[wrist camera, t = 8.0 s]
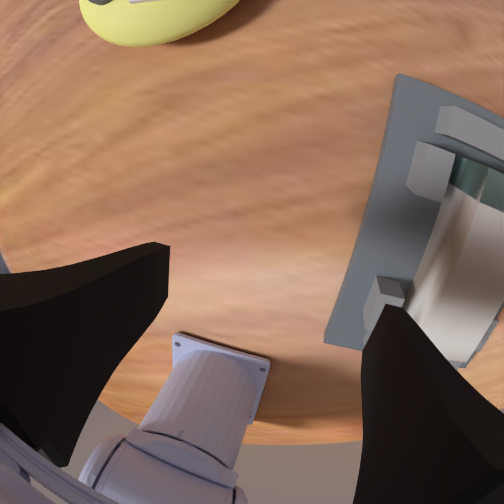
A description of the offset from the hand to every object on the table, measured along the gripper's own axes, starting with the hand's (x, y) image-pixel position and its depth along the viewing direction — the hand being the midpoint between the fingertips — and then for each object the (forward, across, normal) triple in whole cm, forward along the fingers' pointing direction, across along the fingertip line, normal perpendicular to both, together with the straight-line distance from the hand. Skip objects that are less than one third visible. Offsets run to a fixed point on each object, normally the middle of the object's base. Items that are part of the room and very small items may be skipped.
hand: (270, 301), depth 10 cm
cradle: (+9, -10, -1) cm, 13 cm away
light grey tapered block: (+8, -10, -1) cm, 13 cm away
